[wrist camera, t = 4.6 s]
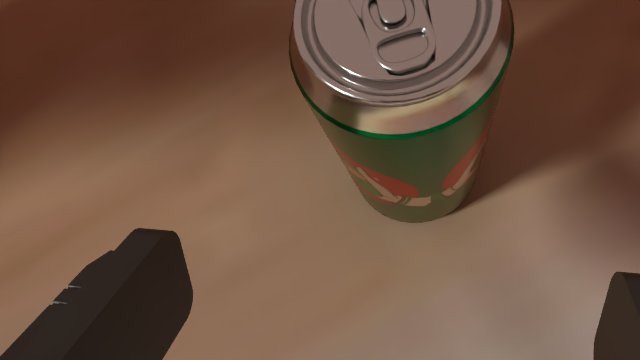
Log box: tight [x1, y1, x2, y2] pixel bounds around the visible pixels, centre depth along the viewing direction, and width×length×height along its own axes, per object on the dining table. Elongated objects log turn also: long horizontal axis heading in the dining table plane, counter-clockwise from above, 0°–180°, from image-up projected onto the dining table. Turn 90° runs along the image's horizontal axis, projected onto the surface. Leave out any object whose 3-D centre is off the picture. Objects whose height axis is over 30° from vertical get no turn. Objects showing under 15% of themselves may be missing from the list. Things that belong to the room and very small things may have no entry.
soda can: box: [289, 0, 514, 223], centre depth 16 cm, size 5×5×12 cm
